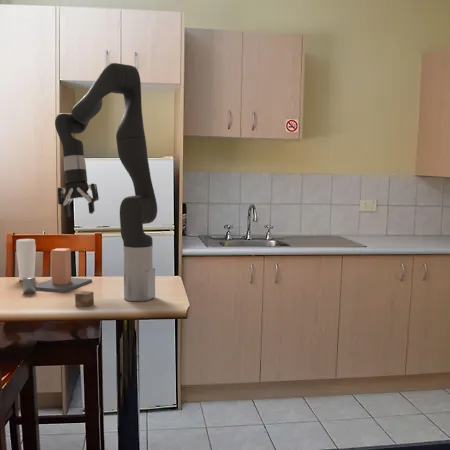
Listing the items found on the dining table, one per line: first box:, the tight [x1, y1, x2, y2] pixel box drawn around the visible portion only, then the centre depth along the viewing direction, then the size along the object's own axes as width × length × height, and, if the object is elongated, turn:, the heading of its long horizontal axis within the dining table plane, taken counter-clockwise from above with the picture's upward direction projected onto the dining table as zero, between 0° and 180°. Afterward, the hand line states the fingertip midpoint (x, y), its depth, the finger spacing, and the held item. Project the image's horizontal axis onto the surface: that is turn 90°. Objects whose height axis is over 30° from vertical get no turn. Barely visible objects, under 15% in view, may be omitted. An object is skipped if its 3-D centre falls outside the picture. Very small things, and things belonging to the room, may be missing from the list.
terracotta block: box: [51, 247, 72, 284], centre depth 194 cm, size 5×5×12 cm
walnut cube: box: [74, 290, 95, 308], centre depth 168 cm, size 4×4×4 cm
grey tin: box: [22, 276, 37, 295], centre depth 183 cm, size 4×4×5 cm
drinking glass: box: [15, 238, 37, 282], centre depth 204 cm, size 7×7×15 cm
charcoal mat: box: [36, 277, 93, 293], centre depth 195 cm, size 14×18×1 cm
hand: (79, 214), depth 194 cm, fingers open, 8 cm apart
